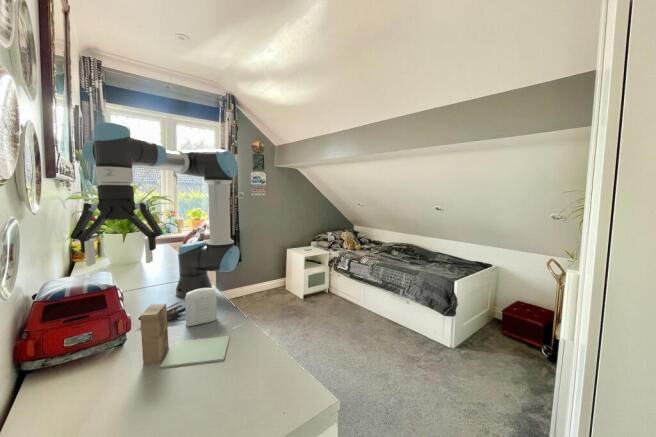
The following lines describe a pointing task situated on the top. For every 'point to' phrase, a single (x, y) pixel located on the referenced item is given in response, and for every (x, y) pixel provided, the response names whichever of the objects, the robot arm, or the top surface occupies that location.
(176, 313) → the action figure
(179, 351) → the mat
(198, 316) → the photo printer
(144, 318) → the walnut block
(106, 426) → the top surface
